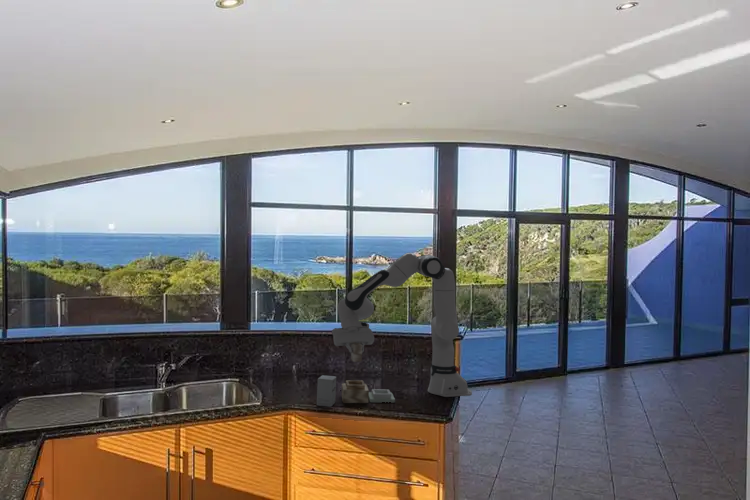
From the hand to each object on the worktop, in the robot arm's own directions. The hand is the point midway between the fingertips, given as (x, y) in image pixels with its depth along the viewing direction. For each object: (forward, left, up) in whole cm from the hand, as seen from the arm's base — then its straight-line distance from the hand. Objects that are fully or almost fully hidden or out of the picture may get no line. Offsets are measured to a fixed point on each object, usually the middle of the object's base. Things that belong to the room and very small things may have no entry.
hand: (357, 351), depth 289 cm
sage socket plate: (-13, -2, -23) cm, 27 cm away
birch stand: (0, -1, -23) cm, 23 cm away
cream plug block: (0, -1, -5) cm, 5 cm away
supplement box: (+14, +7, -24) cm, 29 cm away
